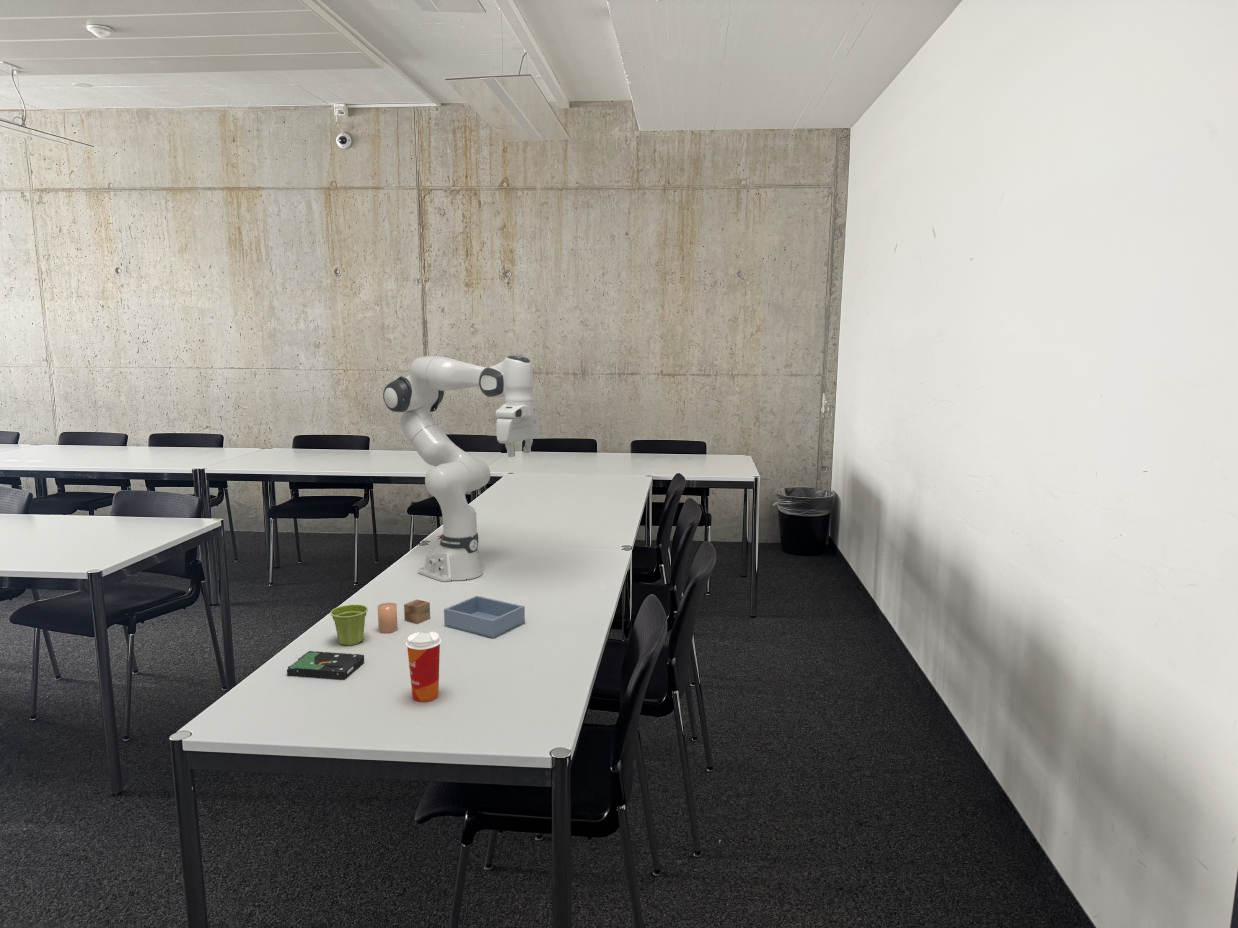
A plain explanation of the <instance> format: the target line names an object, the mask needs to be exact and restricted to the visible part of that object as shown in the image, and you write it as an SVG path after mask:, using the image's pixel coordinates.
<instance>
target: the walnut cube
mask: <svg viewBox="0 0 1238 928" xmlns="http://www.w3.org/2000/svg"><path fill="white" fill-rule="evenodd" d="M430 605H431V604H430V601H426V600H422V599H415V600H412V601H410V602H409V601H408V602H406V603H404V604H403V610H404V611H403V613H404V614H403V615H404V621H405V622H408V623H411V624H416V625H419V624H422V623H424V622H426V621H428V620H431V608H430Z"/></svg>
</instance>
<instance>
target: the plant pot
mask: <svg viewBox="0 0 1238 928" xmlns="http://www.w3.org/2000/svg"><path fill="white" fill-rule="evenodd" d="M368 611H369V608H368V607H367V606H366V605H365V604H347V605H342V606H341V605H340V606H337V607H335V608H333V609H332V610H331V611H330V613H329V614H330V616H331V617H332V619H333V622H334V625H335V630H336V635H337V640H338V643H339V644H340V645H341V646H342V645H345V646H355V645H358V644H359V643H360V642H363V641H364V635H365V626H366V625H365V623H366V617H367V612H368Z"/></svg>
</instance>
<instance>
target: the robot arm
mask: <svg viewBox="0 0 1238 928" xmlns="http://www.w3.org/2000/svg"><path fill="white" fill-rule="evenodd" d="M476 387H479V389H480V391H481V392H482V394H483V395H484V396H485V397H487V398H488V397H489V398H504V399H503V401H504V402H503V404H502V405H501V406H500V407H499V408H497V409H496V410H495V417H496V418H497V419H496V425H495V427H496V431H495V432H496V439H497V442H498V443H499V444H504V446H505V449H506V451H507V457H508V458H514V457H515V456H516V450H514V443H517V442H520V441H524V442H525V443H524V446H523V448H522V449H523V453H524V454H529V453H531V452H532V450H531V449H532V448H531V447H532V446H533V442H534V440H533V439H534V438H538V437H539V436H540V428H541V427H540V419H539V415H538V414H537V410H536V409H535V407H534V405H535V404H534V396H533V389H534V370H533V365H532V362H531V360H530V359H529V358H528V357H525V356H521V355H508V356H506V357H505V358H504V359H503V360H502V361H501V362H499V363H497V364H495V365H494V364H493V365H492V366H481V365H477V364H473V363H469V362H465V361H461V360H458V359H454V358H450V357H446V356H439V355H425V356H419V357H416V358H415V359H414V360H413V361H412V362H411V364H410V368H409V373H408V375H407V376H406V377H404V376H402V375H400V376H399V377H397V378H395V379H394V380H392V381H390V382H389V383H388V384H387V385H385V387H384V389H383V392H382V398H383V401H384V404H385V406H386V407H387V409H389V411H392V412H394V413H402V414H401V416H400V419H399V425H400V428H401V430H402V432H403V434H404V436H405V438H406V439H407V441H408V442H409V443H410V445H411V446H412V447H413V449H414V450H415V451H416V453H418V455H419V456H420V457H421V459H422V460H423V461H424V462H425V463H426V464H427V465H429V466H433V467H432V468H430V469H429V470H428V471H427V472H426V475H425V477H424V483H425V488H426V490H427V491H428V493H429V494H430V495H432V496H433V498H435V499H436V500H437V502H438V504H439V507H440V511H441V515H442V516H441V517H442V530H443V533H442V534H441V535H438V536H436V537H437V540H440V542H439V544H438V545H437V546H436V547H435V548H434V549H432V550H431V551H430V552H429V553H427V555H426V556H425V562H424V566H422V567H420V568H419V569H418V570H417V573H418V574H420V575H423V576H425V577H428V578H431V579H434V580H437V581H440V582H450V581H451V580H452V581H465V580H466V579H467V580H472V579H476V578H478V577H481V576H482V575H483V573H484V572H483V569H482V565H481V560H480V553H479V534H478V531H477V530H478V529H477V528H478V526H477V511H476V509H475V508H474V507H473V506H472V505H469V503H468V501H467V498H466V493H470V492H474V491H477V490H479V489H481V488H483V487H484V486H486V485H487V484H488V483H489V482H490V479H491V470H490V467H489V465H488V463H487V462H485V461H484V460H483V459H479V458H477V457H474V456H472V455H471V454H469V453H467V452H466V451H464V450H463V448H460V447H459V446H457V444H455V443H454V442H453V441H452V440H451V439H450V437H448V435H447V434H446V433H445V432H444V431H443V429H441V427H440V426H439V425H438V424H437V423H436V421H435V420H434V419H433V417H432V415H431V413H433V412H436V410H438V407H439V406H440V404H441V403H442V401H443V399H444V395H445V392H446V391H447V392H448V391H456V390H457V391H458V390H464V389H467V388H476ZM467 580H466V581H467Z"/></svg>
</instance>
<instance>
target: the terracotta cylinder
mask: <svg viewBox="0 0 1238 928" xmlns="http://www.w3.org/2000/svg"><path fill="white" fill-rule="evenodd" d="M397 608H398V605H397V603H394V602H384V603H380V604H378V605H377V623H378V625H377V626H378V633H379V634H384V635H385V634H394V633H395V632H397V631H398V629H399V628H398V609H397Z"/></svg>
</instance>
